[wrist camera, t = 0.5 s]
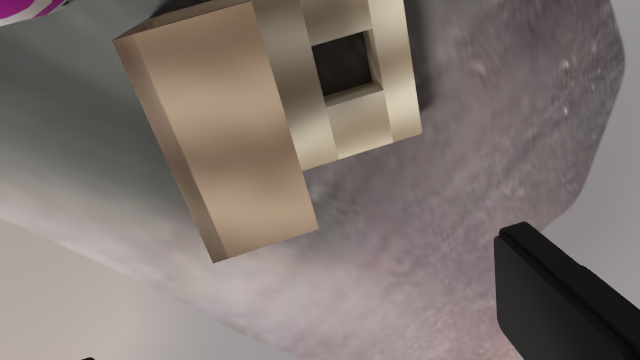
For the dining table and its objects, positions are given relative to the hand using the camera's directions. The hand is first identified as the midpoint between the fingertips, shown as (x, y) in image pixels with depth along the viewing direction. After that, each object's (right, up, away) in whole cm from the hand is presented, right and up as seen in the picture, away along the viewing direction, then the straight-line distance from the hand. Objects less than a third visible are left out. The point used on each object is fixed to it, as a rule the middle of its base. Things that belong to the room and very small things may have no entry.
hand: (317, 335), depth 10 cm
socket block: (-2, +12, +25) cm, 28 cm away
